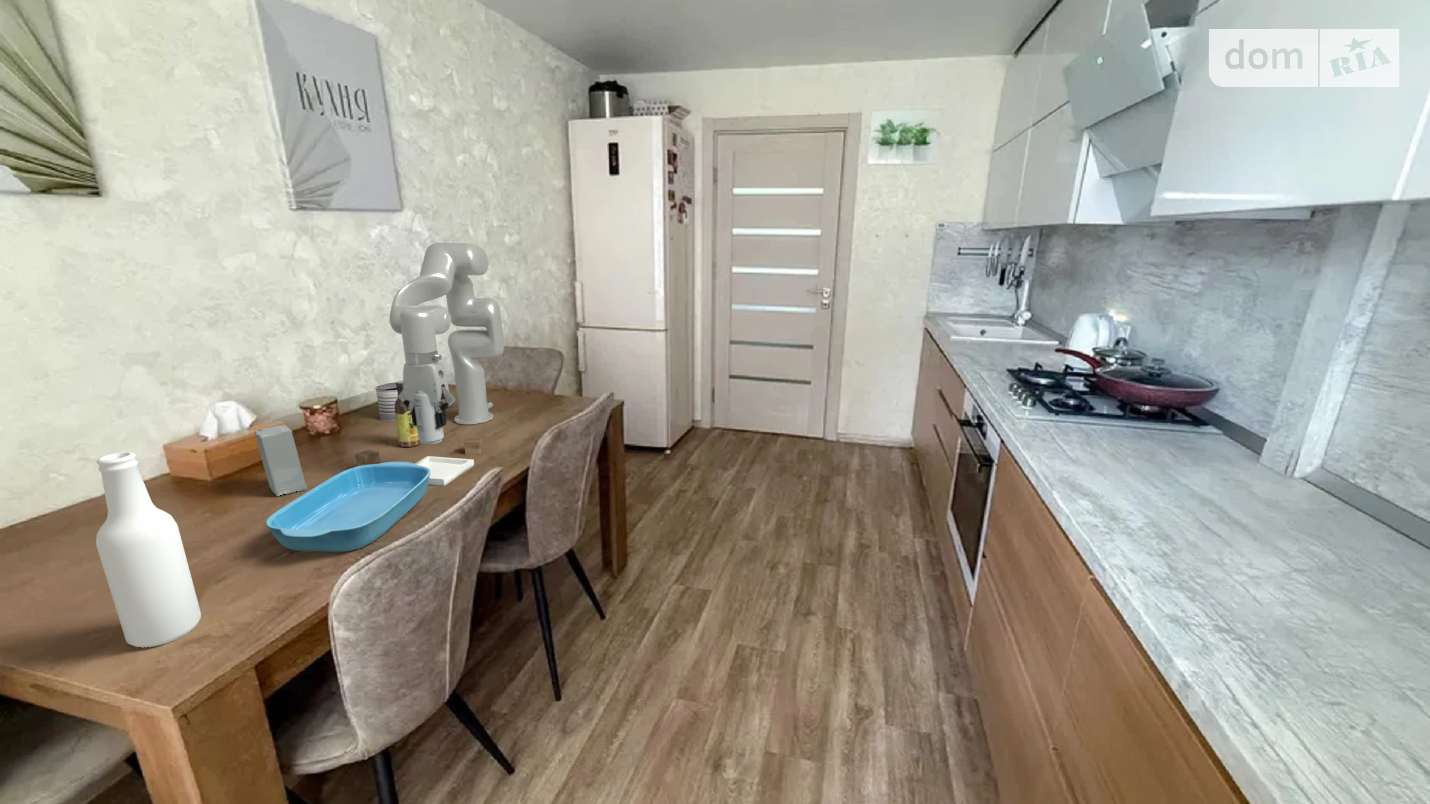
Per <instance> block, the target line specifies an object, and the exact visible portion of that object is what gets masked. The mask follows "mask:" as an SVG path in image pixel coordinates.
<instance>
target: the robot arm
mask: <svg viewBox="0 0 1430 804" xmlns="http://www.w3.org/2000/svg"><path fill="white" fill-rule="evenodd" d="M488 269H489V257H488V255H487V253H486V251H485V249H483V248H482V247H480V246H478V245H475V244H472V243H465V242H435V243H432V244H430V245H429V246H428V247H427V248H426V250H425V253H424V257H423V260H422V264H421V268H420V272H419V274H418V275H419V276H418V277H416V278H414V279H412V280H410V281H409V282H408V283H407V284H405V285H403V287H401V288H399V290H398V291H397V292H396V293H395V295H394V297H393V300H392V303H391V305H390V306H391V307H390V311H389V324H390V327H391V329H392V330H393V331H394V332H395V333H397V334H400V335H401V336H402V337H401V339H402V345H403V353H404V360H405V361H404V362H405V363H404V364H403V372H402V379H403V380H402V381H403V387H404V389H403V391H402V392H401V393H400V394H399V395H398V398H399V399H400V400H401V401H402V402H404V404H405V405H406V406H407V407H408V410H409V411H411V415H412V421H413V426H417V422H416V414H415V406H414V398H413V394H414V393H415V392H416V391H418V389H421V391H423V392H424V393H426V394H427V395H428V397H429V400H430V402H432V403H434V406H435V408H436V410H437V413H436V414H435V415H436V424H437V427H438V428H440V427H442V426H443V427H444V426H447V420H448V419H447V415H446V413H447V412H446V411H447V410H448V409H449V407H450V406H451V405H452V404H453V403H454V402H455V401H456V400H457V409H458V411H457V412H458V414H457V415H455V417H454V418H453V419H454V422H455V423H457V424H458V425H459V424H460V425H478V423H479V424H484V423H487V422H490V421H491V420H493V418H494V414H493V413H492V412H490V411H489V409H491V408H492V407H493V406H494V404H493V402H491V401H490V402H488V398H487V397H488V395H487V387H486V376H485V369H484V366H483V365H482V364H481V363H480V362H479V361H478V359H480V358H481V359H482V358H486V359H487V358H499V357H501V356H502V355H503V353H504V351H505V342H504V333H503V331H504V330H503V325H502V323H503V322H502V316H501V315H502V314H501V308H500V305H499V303H498V302H497V300H495V299H493V298H490V297H476V296H475V291H474V284H473V281H472V280H471V278H470V277H469V276H483V275H484V274H486V273H487V272H488ZM444 296H446V297H445V299H446V305H447V309H446V308H445V307H444V306H440V305H423V304H424V303H426V302H430V301H433V300H436V299H439V298H442V297H444ZM451 325H454V326H455V327H464V328H465V327H466V328H472V327H473V328H476V327H477V328H481V327H484V328H485V329H458V330H455V331H453V332H451V333H450V334H449V335H448V338H447V344H448V350H449V353H450V356H451V361H452V365H453V372H454V381H455V382H454V383H455V384H454V385H455V393H456V397H455V396H454V395H453V394H452V393H451V392H450V390H449V384H448V379H447V374H446V370H445V367H444V365H443V363H442V362H440V361H442V359H443V356H442V354H439V353H438V344H437V339H436V338H437V336H436V335H442V334H444V333H446V332H447V331H449V329H450V327H451ZM439 403H440V404H439ZM489 420H490V421H489Z"/></svg>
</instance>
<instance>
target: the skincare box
mask: <svg viewBox="0 0 1430 804" xmlns="http://www.w3.org/2000/svg"><path fill="white" fill-rule="evenodd" d="M253 432H254V436H255V439H256V444H257V447H258V450H259V454H260V457H261V461H262V464H263V468H264V472H265V474H266V475H265V476H266V478H267V482H268V486H269V489H270V488H271V489H270V490H271V491H272V492H273V493H274V495H275V494H276V495H275V496H276V497H281V496H280V495H282V496H284V495H283V494H286V495H289V494H292V493H297V492H301V491H305V490H307V489H308V487H307V483H306V479H305V476H304V473H303V469H302V468H303V467H302V465H301V462H300V458H299V454H298V449H297V446H296V442H295V438H294V436H293V435H294V434H293V431H292V429H291V428H289V427H288V426H287V425H286V424H281V425H276V426H270V427H267V428H266V427H265V428H262V429H257V430H256V429H255V430H254V431H253ZM296 491H297V492H296Z"/></svg>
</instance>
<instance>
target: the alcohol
mask: <svg viewBox="0 0 1430 804" xmlns="http://www.w3.org/2000/svg"><path fill="white" fill-rule="evenodd" d="M136 456H137V455H136V453H134V452H130V451H122V452H114V453H110V454H106V455H103V456H101V457H99V458H98V459H97V460H95V461H96V464H97V465H98V468H97V469H98V471H99V472H100V474H101V478H102V479H101V480H102V485H103V491H104V496H105V502H106V509H107V515H106V516H107V517H106V520H105V521H104V523H102V525H101V526H100V528H99V530H98V531H97V533H96V541H95V542H96V543H95V545H96V549H97V552H98V556H99V558H100V562H101V565H102V568H103V571H104V575H105V577H106V581H107V584H108V586H109V587H108V588H109V590H110V594H111V597H112V600H113V604H114V607H115V610H116V613H117V616H118V620H119V623H120V625H121V629H122V633H123V636H124V639H125V641H126V643H127V644H128V645H131V646H133V647H135V648H138V647H141V648H140V649H148V648H147V647H149V648H155V647H158V646H159V645H160V646H162V644H163V645H165V644H169V643H172V642H174V641H176V640H179V639H181V638H183V637H184V636H186V635H187V634H189V633H190V632H192V631H193V630H194V629H195V628H197V626H198V624H199V621H200V620H201V618H202V612H201V608H200V605H199V601H198V597H197V594H196V590H195V585H194V582H193V578H192V574H191V570H190V567H189V563H188V560H187V555H186V553H185V552H186V551H185V548H184V544H183V541H182V537H181V533H180V530H179V529H180V528H179V526H178V524H177V522H176V521H175V519H174V517H173V516H172V514H170V513H168V512H166V511H164V510H163V509H160V508H158V507H157V506H156V505H155V504H154V503H153V501H152V499H151V497H150V494H149V491H148V490H147V487H146V485H145V482H144V478H143V477H142V475H141V472H140V469H139V467H138V464H139V462H138V460H137V459H136ZM191 630H192V631H191ZM180 637H181V638H180ZM178 638H179V639H178ZM171 641H172V642H171ZM144 647H145V648H144Z"/></svg>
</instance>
